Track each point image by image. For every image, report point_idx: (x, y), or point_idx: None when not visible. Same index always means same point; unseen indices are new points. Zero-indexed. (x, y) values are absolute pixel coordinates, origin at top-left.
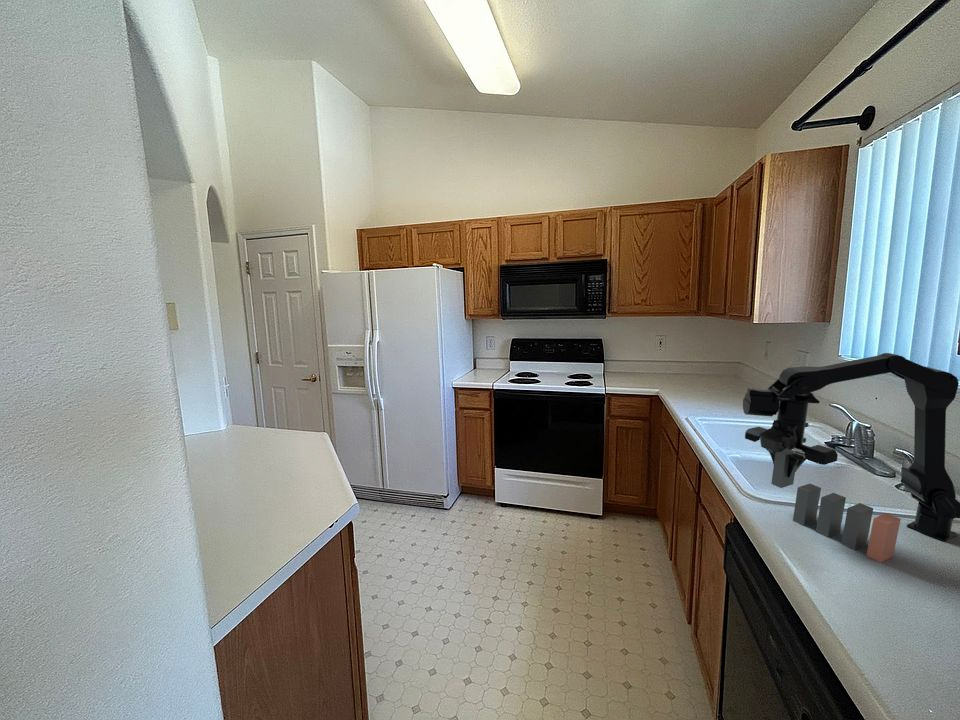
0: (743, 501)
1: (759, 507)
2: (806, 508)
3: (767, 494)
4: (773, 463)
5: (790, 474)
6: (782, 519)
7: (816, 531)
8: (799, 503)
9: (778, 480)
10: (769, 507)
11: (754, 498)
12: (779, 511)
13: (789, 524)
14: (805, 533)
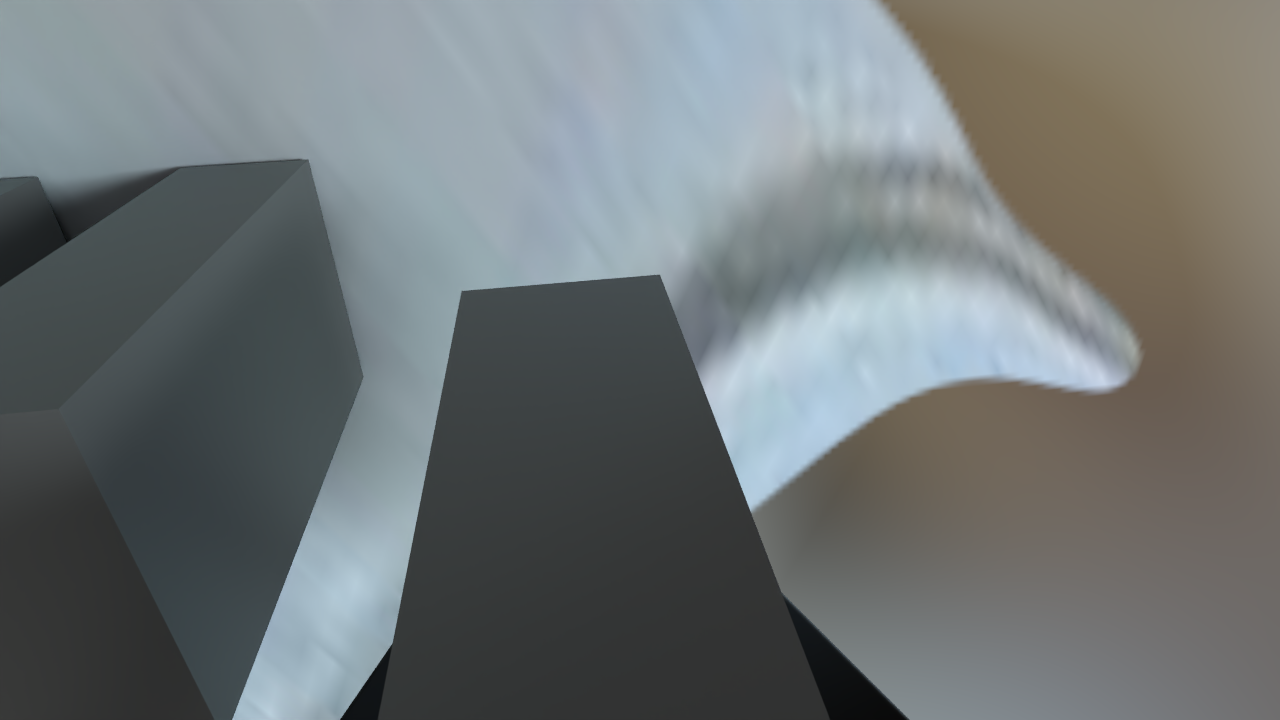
0: (859, 15)
1: (676, 74)
2: (46, 258)
3: (809, 425)
4: (890, 708)
5: (383, 657)
6: (371, 72)
7: (31, 180)
8: (145, 259)
9: (530, 350)
10: (629, 196)
11: (830, 224)
12: (525, 221)
13: (250, 36)
14: (20, 17)
